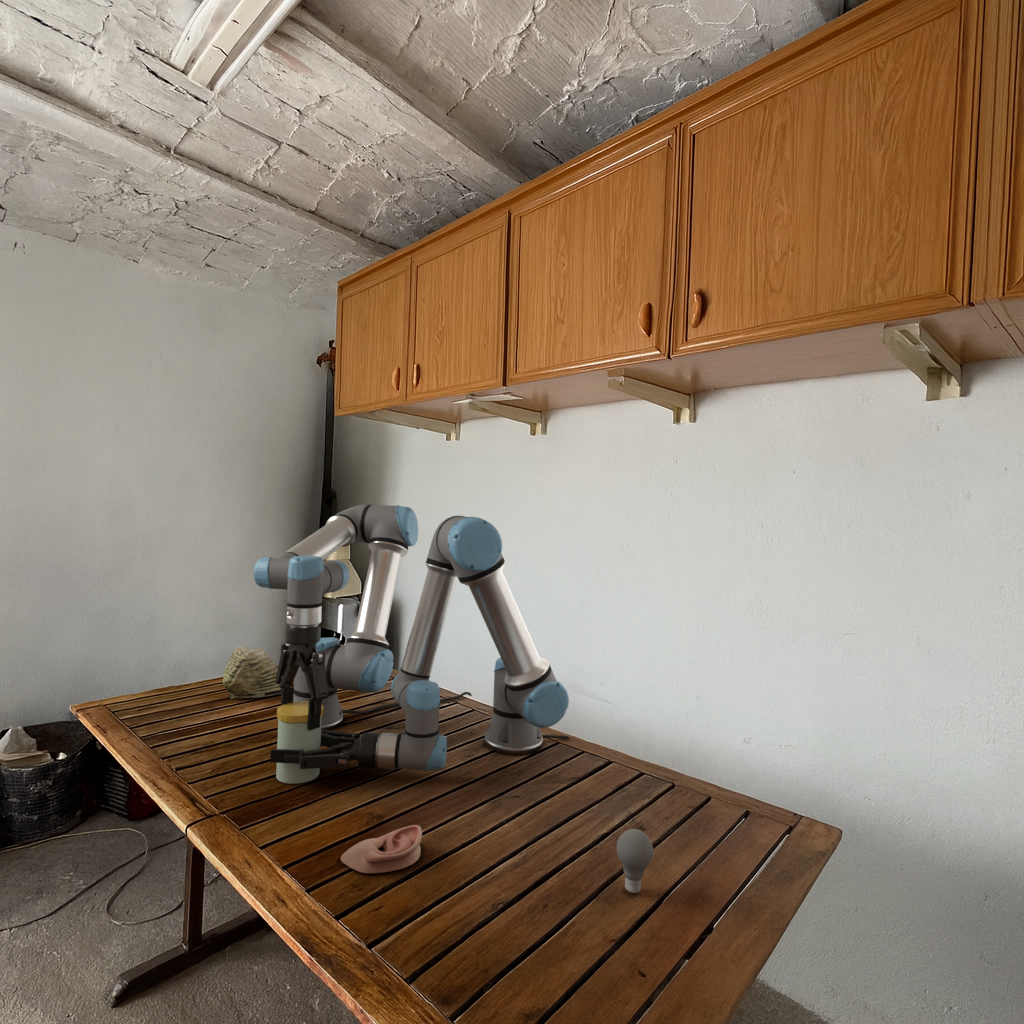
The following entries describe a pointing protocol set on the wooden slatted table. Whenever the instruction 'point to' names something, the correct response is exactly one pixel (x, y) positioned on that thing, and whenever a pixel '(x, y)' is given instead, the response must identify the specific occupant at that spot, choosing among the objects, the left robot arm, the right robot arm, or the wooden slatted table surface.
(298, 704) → the lid
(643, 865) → the light bulb
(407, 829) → the anatomical model
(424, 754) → the right robot arm
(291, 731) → the jar
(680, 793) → the wooden slatted table surface
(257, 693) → the fossil
